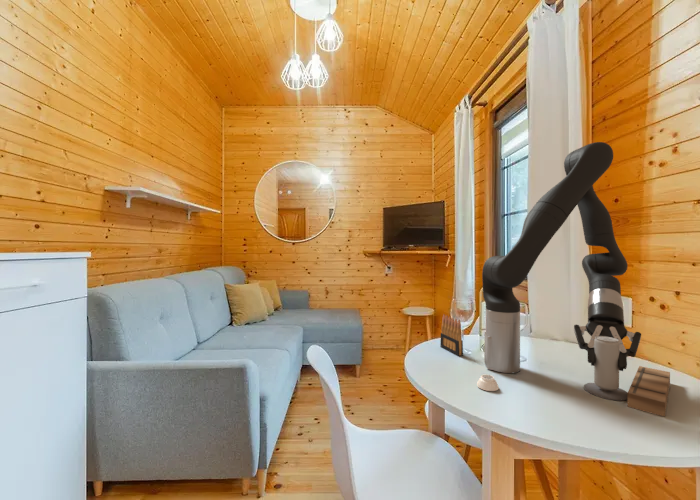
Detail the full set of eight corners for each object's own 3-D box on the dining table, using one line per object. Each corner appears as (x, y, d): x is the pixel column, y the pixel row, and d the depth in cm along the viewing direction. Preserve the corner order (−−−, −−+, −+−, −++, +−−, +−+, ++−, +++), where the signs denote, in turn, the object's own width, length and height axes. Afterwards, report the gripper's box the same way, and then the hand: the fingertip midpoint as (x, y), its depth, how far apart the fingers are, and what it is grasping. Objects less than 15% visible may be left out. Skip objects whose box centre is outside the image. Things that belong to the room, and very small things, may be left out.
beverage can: (589, 383, 81) (589, 336, 81) (606, 382, 81) (607, 335, 81) (606, 391, 76) (606, 341, 76) (624, 390, 77) (624, 341, 77)
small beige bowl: (480, 382, 85) (474, 388, 81) (480, 371, 85) (474, 377, 81) (500, 387, 82) (495, 394, 78) (500, 376, 82) (495, 382, 78)
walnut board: (664, 416, 67) (664, 402, 67) (627, 406, 72) (627, 392, 72) (669, 383, 84) (670, 371, 84) (639, 376, 88) (639, 365, 88)
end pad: (594, 398, 76) (594, 396, 76) (577, 382, 84) (577, 381, 84) (639, 402, 73) (639, 401, 73) (617, 386, 82) (617, 384, 82)
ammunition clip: (463, 356, 105) (463, 319, 105) (458, 356, 105) (458, 320, 105) (444, 346, 116) (444, 313, 115) (440, 346, 115) (440, 313, 115)
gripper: (572, 298, 89) (570, 353, 79) (641, 303, 80) (648, 365, 71) (573, 314, 93) (571, 367, 84) (639, 320, 85) (645, 381, 75)
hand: (606, 366), depth 77 cm, fingers closed on beverage can, 4 cm apart
